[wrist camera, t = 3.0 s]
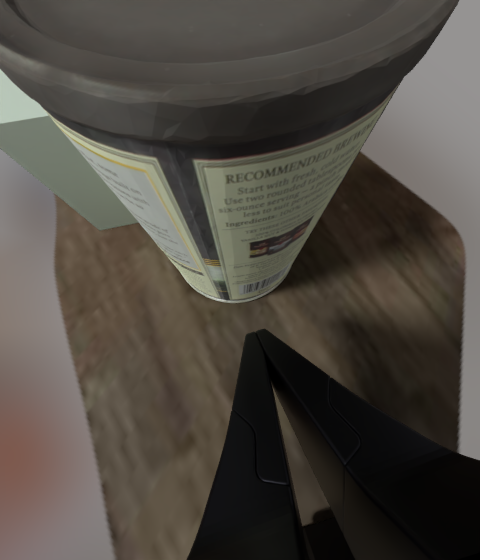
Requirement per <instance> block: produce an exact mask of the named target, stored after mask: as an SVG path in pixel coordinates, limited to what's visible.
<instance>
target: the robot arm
mask: <svg viewBox="0 0 480 560" xmlns="http://www.w3.org/2000/svg"><path fill="white" fill-rule="evenodd" d="M271 383H272V384H271ZM272 386H273V388H274V390H275V392H276V394H277V396H278V399H279V401H280V403H281V405H282V407H283V409H284V411H285V413H286V415H287V417H288V420H289V422H290V424H291V426H292V428H293V430H294V432H295V434H296V436H297V438H298V440H299V443H300V445H301V447H302V449H303V451H304V453H305V455H306V457H307V459H308V461H309V464H310V466H311V468H312V470H313V472H314V474H315V476H316V478H317V480H318V482H319V485H320V487H321V489H322V491H323V493H324V495H325V497H326V499H327V501H328V503H329V505H330V508H331V510H332V512H333V514H334V516H335V518H333V519H329V520H326V521H323V522H320V523H317V524H314V525H311V526H307V527H305V528H304V530H303V528H302V523H301V519H300V514H299V509H298V505H297V500H296V495H295V491H294V486H293V481H292V477H291V472H290V467H289V463H288V458H287V453H286V449H285V444H284V439H283V435H282V430H281V425H280V421H279V416H278V411H277V407H276V402H275V397H274V393H273V388H272ZM187 560H480V460H476V459H473V458H470V457H467V456H464V455H461V454H459V453H456V452H454V451H452V450H449V449H447V448H445V447H443V446H441V445H439V444H437V443H435V442H433V441H431V440H430V439H428V438H426V437H424V436H423V435H421V434H419V433H418V432H416V431H414V430H413V429H411V428H409V427H408V426H406V425H404V424H403V423H401V422H399V421H398V420H396V419H394V418H393V417H391V416H389V415H388V414H386V413H384V412H383V411H381V410H379V409H378V408H376V407H374V406H373V405H371V404H370V403H368V402H366V401H365V400H363V399H362V398H360V397H358V396H357V395H355V394H354V393H353V392H351V391H350V390H348V389H347V388H345V387H344V386H342V385H341V384H340V383H338V382H337V381H336V380H334V379H333V378H330V376H329V375H327V374H326V373H325V372H323V371H322V370H321V369H319V368H318V367H317V366H315V365H314V364H312V363H311V362H310V361H308V360H307V359H306V358H304V357H303V356H302V355H300V354H299V353H297V352H296V351H295V350H293V349H292V348H291V347H289V346H288V345H287V344H285V343H284V342H282V341H281V340H280V339H278V338H277V337H276V336H274V335H273V334H272V333H270V332H269V331H268V330H266V329H262V330H258V331H256V333H255V332H252V333H249V334H246V336H245V342H244V347H243V352H242V358H241V363H240V368H239V374H238V379H237V384H236V390H235V395H234V400H233V406H232V411H231V416H230V421H229V426H228V430H227V435H226V440H225V443H224V447H223V451H222V454H221V458H220V461H219V465H218V468H217V471H216V475H215V478H214V481H213V485H212V488H211V491H210V494H209V498H208V501H207V504H206V508H205V511H204V514H203V518H202V521H201V524H200V527H199V530H198V533H197V535H196V538H195V541H194V543H193V546H192V548H191V551H190V553H189V555H188V558H187Z"/></svg>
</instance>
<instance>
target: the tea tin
mask: <svg viewBox="0 0 480 560" xmlns="http://www.w3.org/2000/svg"><path fill="white" fill-rule="evenodd" d="M0 149H1V150H3V151H4V152H5V153H6V154H7V155H9V156H10V157H11V158H12V159H14V160H15V161H16V162H17V163H19V164H20V165H21V166H22V167H23V168H25V169H26V170H27V171H28V172H29V173H31V174H32V175H33V176H34V177H36V178H37V179H38V180H39V181H40V182H41V183H43V184H44V185H45V186H46V187H48V188H49V189H50V190H51V191H52V192H54V193H55V194H56V195H57V196H59V197H60V198H61V199H62V200H63V201H65V202H66V203H67V204H68V205H69V206H71V207H72V208H73V209H74V210H76V211H77V212H78V213H79V214H80V215H82V216H83V217H84V218H85V219H86V220H88V221H89V222H90V223H91V224H93V225H94V226H95V227H96V228H97V229H99V230H104V229H109V228H114V227H119V226H124V225H129V224H134V223H139V222H138V221H137V220H136V218H135V217H134V216H133V215H132V214H131V212H130V211H129V210H128V209H127V208H126V207H125V205H124V204H123V203H122V202H121V201H120V200H119V198H118V197H117V196H116V195H115V194H114V192H113V191H112V190H111V189H110V188H109V187H108V185H107V184H106V183H105V182H104V181H103V179H102V178H101V177H100V176H99V175H98V173H97V172H96V171H95V170H94V169H93V167H92V166H91V165H90V164H89V163H88V161H87V160H86V159H85V158H84V157H83V155H82V154H81V153H80V152H79V151H78V149H77V148H76V147H75V146H74V145H73V143H72V142H71V141H70V140H69V139H68V138H67V136H66V135H65V134H64V133H63V132H62V131H61V129H60V128H59V127H58V126H57V125H56V124H55V122H54V121H53V120H52V119H51V117H50V116H49V115H48V114H47V113H46V111H45V110H44V109H43V108H42V107H41V105H40V104H39V103H38V102H36V101H35V100H33V99H31V98H30V97H29V96H28V95H26V94H25V93H24V92H23V91H22V90H20V89H19V88H18V87H17V86H16V85H15V84H14V83H13V82H12V81H11V80H10V79H9V78H8V77H7V76H6V75H5V74H4V73H3V71H2V70H1V69H0Z"/></svg>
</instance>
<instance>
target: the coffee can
mask: <svg viewBox="0 0 480 560" xmlns="http://www.w3.org/2000/svg"><path fill="white" fill-rule="evenodd" d="M458 2H459V0H0V69H1V70H2V71H3V73H4V74H5V75H6V76H7V77H8V78H9V79H10V80H11V81H12V82H13V83H14V84H15V85H16V86H17V87H18V88H19V89H20V90H22V91H23V92H24V93H25V94H26V95H28V96H29V97H30V98H31V99H33V100H35V101H36V102H38V103H39V104H40V105H41V107H42V108H43V109H44V110H45V111H46V113H47V114H48V115H49V116H50V117H51V119H52V120H53V121H54V122H55V124H56V125H57V126H58V127H59V128H60V129H61V131H62V132H63V133H64V134H65V135H66V136H67V138H68V139H69V140H70V141H71V142H72V143H73V145H74V146H75V147H76V148H77V149H78V151H79V152H80V153H81V154H82V155H83V157H84V158H85V159H86V160H87V161H88V163H89V164H90V165H91V166H92V167H93V169H94V170H95V171H96V172H97V173H98V175H99V176H100V177H101V178H102V179H103V181H104V182H105V183H106V184H107V185H108V187H109V188H110V189H111V190H112V191H113V192H114V194H115V195H116V196H117V197H118V198H119V200H120V201H121V202H122V203H123V204H124V205H125V207H126V208H127V209H128V210H129V211H130V212H131V214H132V215H133V216H134V217H135V218H136V220H137V221H138V222H139V223H140V224H141V226H142V227H143V228H144V229H145V230H146V232H147V233H148V234H149V235H150V236H151V237H152V239H153V240H154V241H155V242H156V244H157V245H158V246H159V247H160V248H161V250H162V251H163V252H164V253H165V254H166V255H167V257H168V258H169V259H170V260H171V261H172V263H173V264H174V265H175V266H176V267H177V269H178V270H179V271H180V272H181V274H182V276H183V277H184V278H185V280H186V281H187V282H188V283H189V284H190V285H191V286H192V287H193V288H194V289H195V290H196V291H197V292H199V293H201V294H203V295H204V296H206V297H208V298H211V299H213V300H216V301H220V302H226V303H241V302H242V303H244V302H248V301H252V300H255V299H258V298H260V297H262V296H264V295H266V294H268V293H269V292H271V291H272V290H274V289H275V288H276V287H277V286H278V285H279V284H280V283H281V282H282V281H283V280H284V279H285V277H286V276H287V274H288V272H289V270H290V268H291V266H292V264H293V262H294V260H295V259H296V257H297V255H298V254H299V252H300V250H301V249H302V247H303V245H304V244H305V242H306V240H307V238H308V237H309V235H310V233H311V232H312V230H313V228H314V227H315V225H316V223H317V222H318V220H319V219H320V217H321V215H322V214H323V212H324V210H325V209H326V207H327V205H328V204H329V202H330V201H331V199H332V198H333V197H334V195H335V193H336V191H337V189H338V188H339V186H340V184H341V182H342V181H343V179H344V177H345V176H346V174H347V172H348V171H349V169H350V167H351V165H352V164H353V162H354V160H355V158H356V157H357V155H358V153H359V151H360V150H361V148H362V146H363V145H364V143H365V141H366V140H367V138H368V136H369V134H370V133H371V131H372V130H373V128H374V126H375V124H376V123H377V121H378V119H379V118H380V116H381V115H382V113H383V111H384V110H385V108H386V106H387V105H388V103H389V101H390V99H391V98H392V96H393V94H394V93H395V91H396V89H397V88H398V86H399V85H400V83H401V81H402V80H403V78H404V76H406V75H407V74H408V73H409V72H410V71H411V70H412V69H413V68H414V67H415V66H416V64H417V63H418V62H419V61H420V60H421V59H422V57H423V56H424V55H425V54H426V52H427V50H428V49H429V48H430V46H431V45H432V43H433V42H434V40H435V39H436V37H437V36H438V34H439V33H440V31H441V30H442V28H443V27H444V25H445V23H446V22H447V20H448V19H449V17H450V15H451V14H452V12H453V11H454V9H455V7H456V6H457V4H458Z"/></svg>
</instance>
